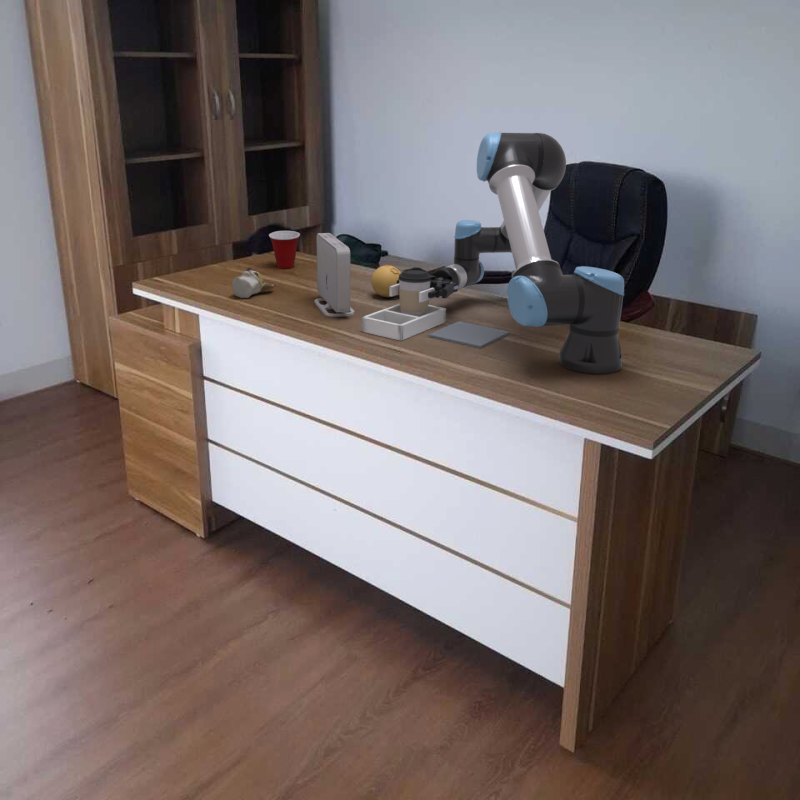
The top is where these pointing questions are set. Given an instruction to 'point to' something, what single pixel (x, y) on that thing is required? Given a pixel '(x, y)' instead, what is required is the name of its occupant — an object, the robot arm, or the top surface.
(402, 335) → the white rectangular frame
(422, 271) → the coffee cup
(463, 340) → the grey mat
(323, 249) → the network device
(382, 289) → the stress ball
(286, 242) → the plastic cup
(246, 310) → the top surface
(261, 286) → the ceramic sculpture
